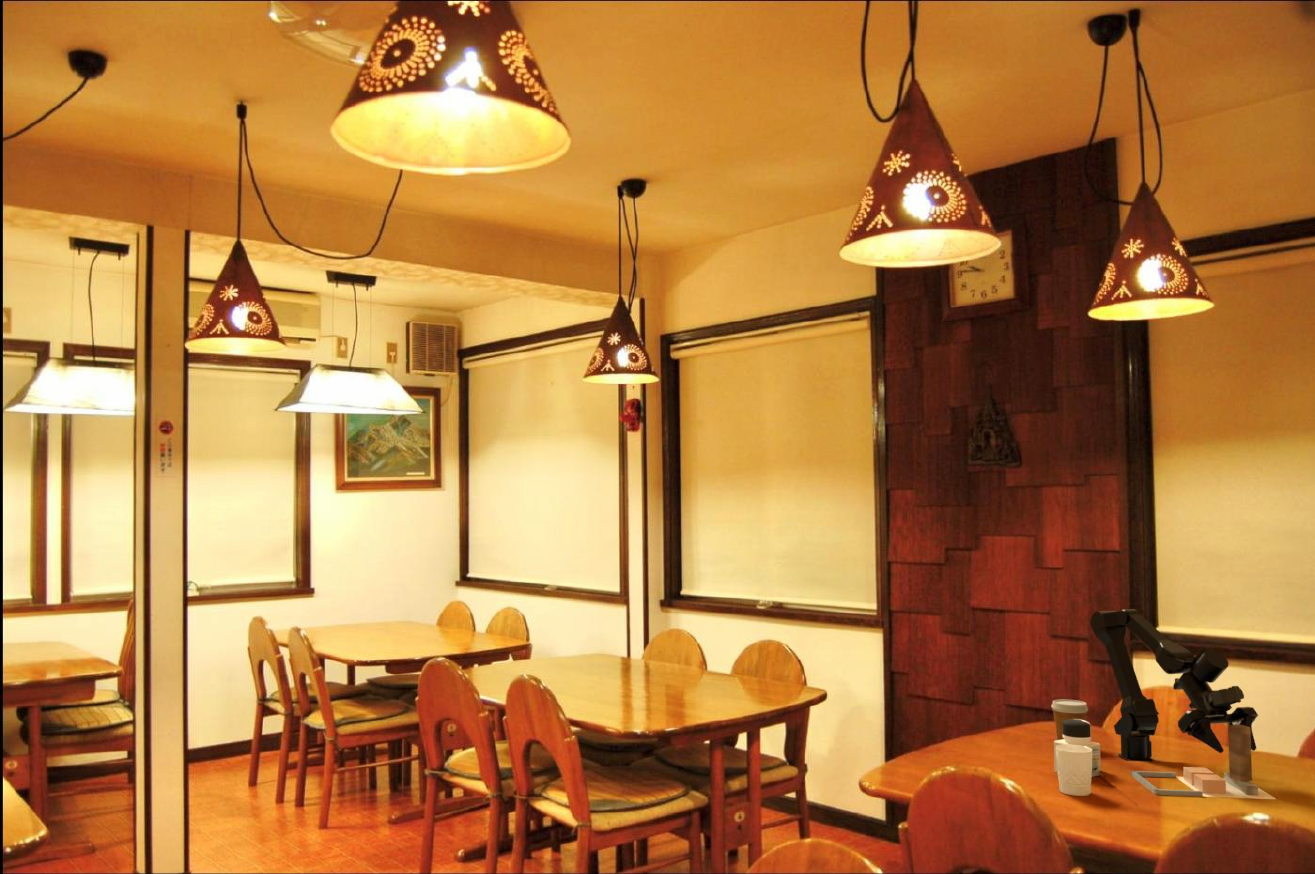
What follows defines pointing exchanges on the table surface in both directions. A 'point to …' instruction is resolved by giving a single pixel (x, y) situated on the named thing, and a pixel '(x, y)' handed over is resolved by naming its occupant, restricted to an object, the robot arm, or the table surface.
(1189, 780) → the tile
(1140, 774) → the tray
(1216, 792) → the tile
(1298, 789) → the table surface
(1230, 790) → the board
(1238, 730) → the upright brown post
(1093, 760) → the container
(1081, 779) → the white cup
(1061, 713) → the disposable coffee cup
